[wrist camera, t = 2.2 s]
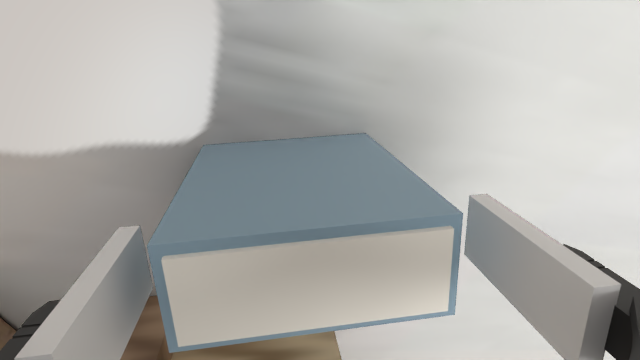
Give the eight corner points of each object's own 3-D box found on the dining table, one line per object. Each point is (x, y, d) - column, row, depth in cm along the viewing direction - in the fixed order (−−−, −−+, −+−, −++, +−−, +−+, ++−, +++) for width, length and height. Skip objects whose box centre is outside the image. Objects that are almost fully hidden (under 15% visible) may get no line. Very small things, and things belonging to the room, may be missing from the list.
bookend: (187, 341, 28) (156, 469, 20) (173, 267, 26) (132, 373, 18) (326, 322, 29) (354, 435, 21) (323, 250, 27) (352, 342, 19)
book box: (212, 206, 25) (167, 358, 13) (203, 145, 24) (144, 249, 12) (365, 192, 26) (457, 318, 14) (365, 133, 25) (466, 216, 13)
